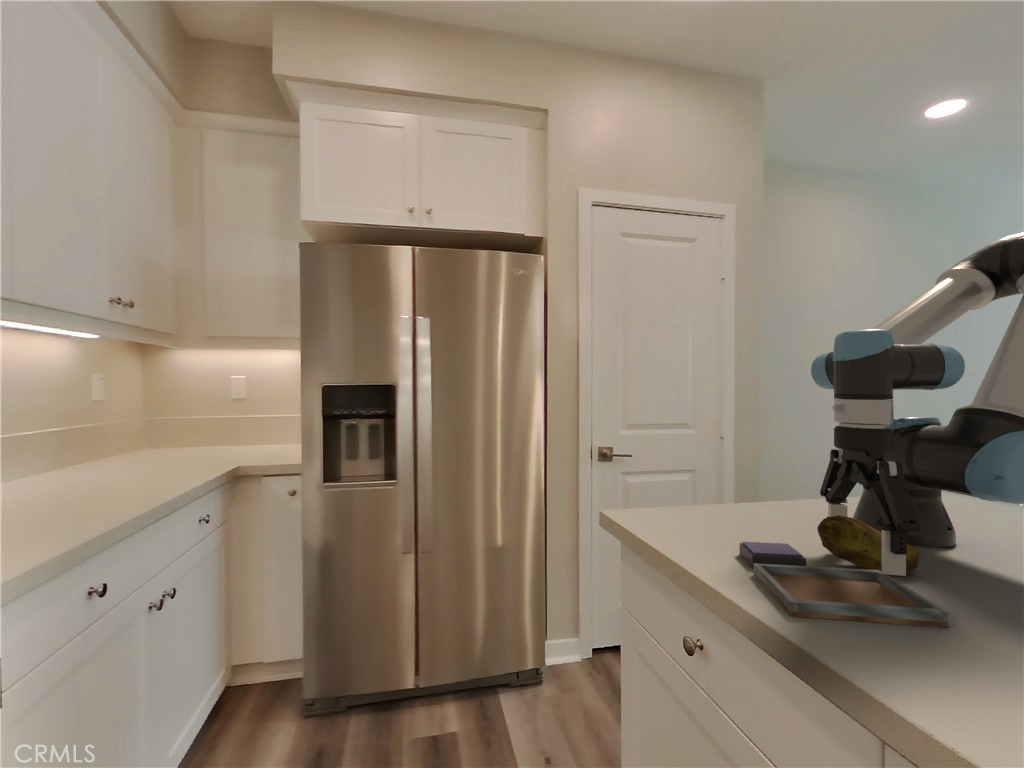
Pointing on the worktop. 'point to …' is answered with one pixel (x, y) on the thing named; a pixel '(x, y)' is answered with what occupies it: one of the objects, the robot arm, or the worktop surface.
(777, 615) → the worktop surface
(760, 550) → the ink pad
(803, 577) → the metal baking tray
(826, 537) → the potato
